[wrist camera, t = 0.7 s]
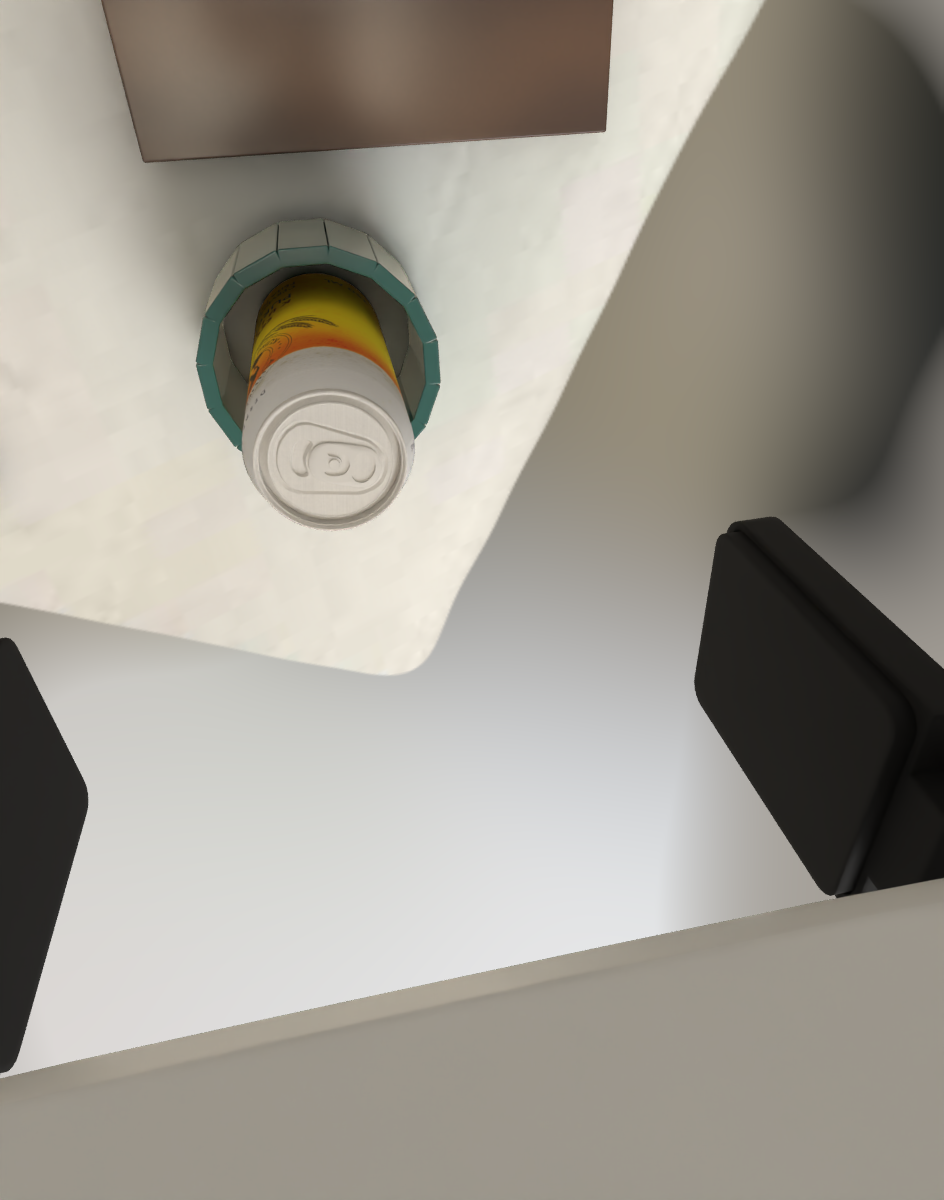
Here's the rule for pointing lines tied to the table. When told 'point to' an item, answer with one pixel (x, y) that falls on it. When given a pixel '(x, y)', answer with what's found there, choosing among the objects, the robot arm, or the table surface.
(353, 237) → the crock
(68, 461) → the table surface
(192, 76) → the board
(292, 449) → the beer can
